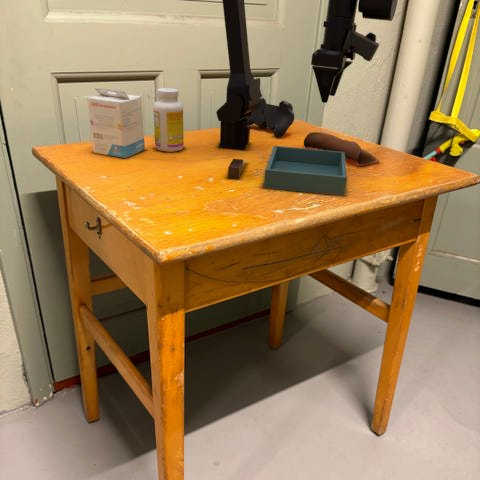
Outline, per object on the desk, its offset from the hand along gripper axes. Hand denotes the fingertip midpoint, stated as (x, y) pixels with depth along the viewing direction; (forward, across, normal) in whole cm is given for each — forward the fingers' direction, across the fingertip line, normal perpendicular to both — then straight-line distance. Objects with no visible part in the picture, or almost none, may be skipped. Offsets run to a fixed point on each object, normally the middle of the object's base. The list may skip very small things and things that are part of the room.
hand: (328, 99), depth 113 cm
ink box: (+14, -16, +43) cm, 48 cm away
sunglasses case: (+13, +7, -4) cm, 15 cm away
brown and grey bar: (+14, -17, +14) cm, 26 cm away
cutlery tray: (+13, -14, 0) cm, 20 cm away
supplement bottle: (+14, -8, +34) cm, 38 cm away
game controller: (+14, +21, +19) cm, 31 cm away
